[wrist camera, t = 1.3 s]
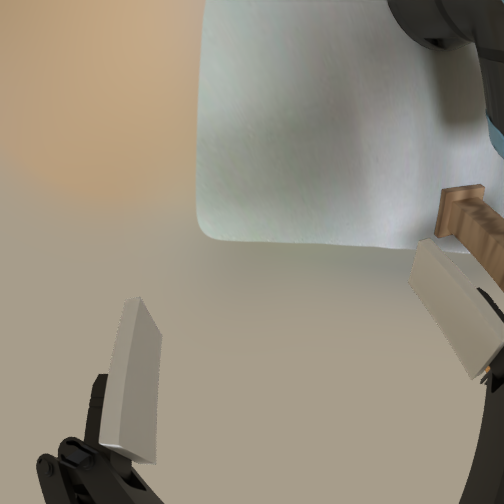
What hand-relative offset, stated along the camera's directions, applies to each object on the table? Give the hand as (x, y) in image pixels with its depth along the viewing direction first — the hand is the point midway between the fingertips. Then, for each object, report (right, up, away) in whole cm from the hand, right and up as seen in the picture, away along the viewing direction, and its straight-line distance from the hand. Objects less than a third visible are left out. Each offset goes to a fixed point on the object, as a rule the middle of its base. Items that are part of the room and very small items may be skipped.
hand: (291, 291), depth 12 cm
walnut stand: (+40, +10, +32) cm, 52 cm away
